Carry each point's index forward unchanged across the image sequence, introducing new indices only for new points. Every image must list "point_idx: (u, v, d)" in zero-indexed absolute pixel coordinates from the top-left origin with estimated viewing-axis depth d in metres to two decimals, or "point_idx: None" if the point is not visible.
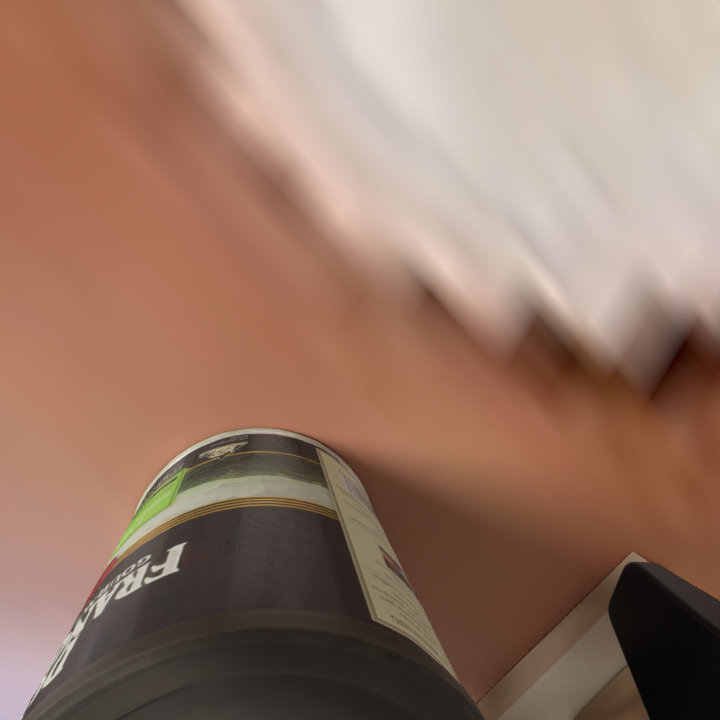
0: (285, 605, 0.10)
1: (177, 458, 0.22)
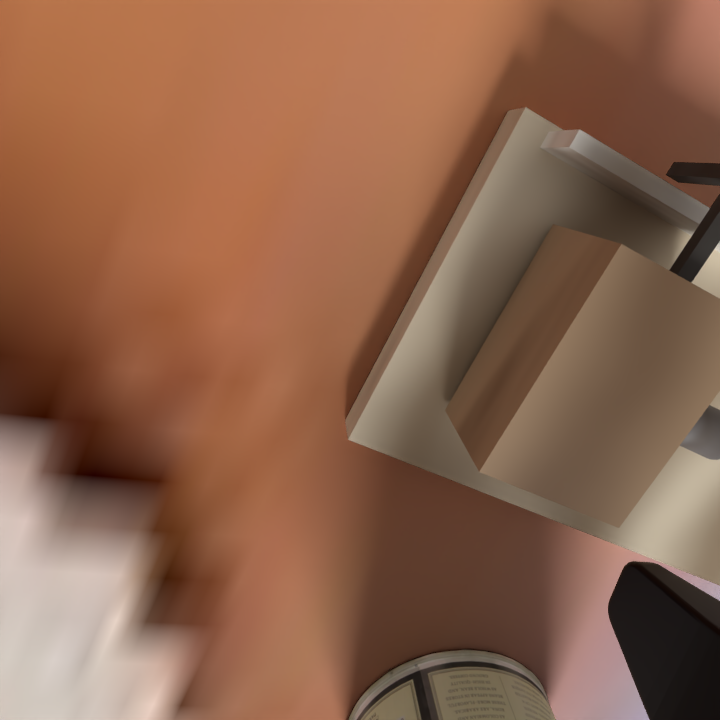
0: None
1: None
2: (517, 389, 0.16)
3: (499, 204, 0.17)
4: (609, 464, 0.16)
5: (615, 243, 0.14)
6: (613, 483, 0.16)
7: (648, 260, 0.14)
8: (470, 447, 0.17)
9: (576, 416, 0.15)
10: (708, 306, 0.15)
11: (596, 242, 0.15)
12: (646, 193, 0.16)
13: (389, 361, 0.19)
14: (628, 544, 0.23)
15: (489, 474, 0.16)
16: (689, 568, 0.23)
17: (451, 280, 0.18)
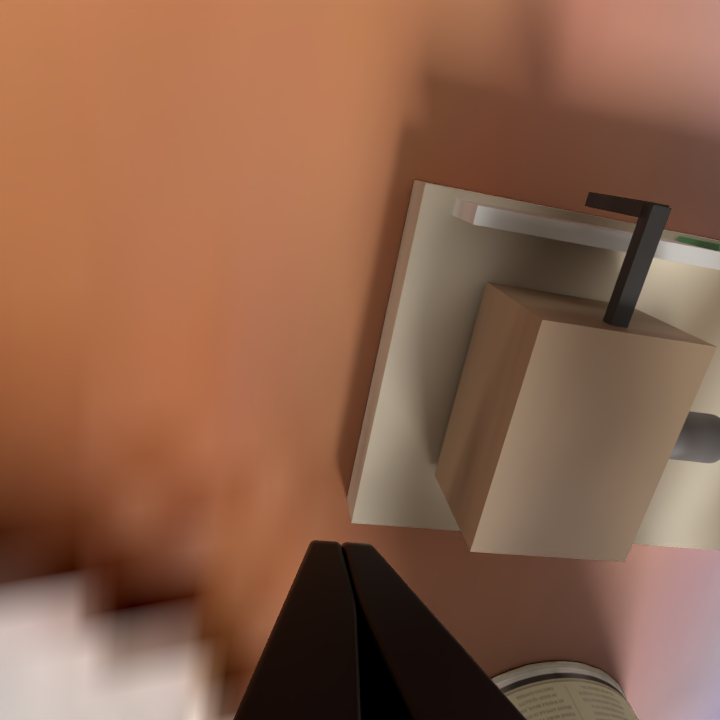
0: None
1: None
2: (486, 467, 0.16)
3: (428, 277, 0.17)
4: (596, 511, 0.16)
5: (537, 318, 0.14)
6: (605, 526, 0.16)
7: (574, 325, 0.14)
8: (459, 522, 0.17)
9: (549, 479, 0.15)
10: (649, 347, 0.14)
11: (522, 312, 0.15)
12: (564, 241, 0.16)
13: (368, 445, 0.19)
14: (655, 541, 0.23)
15: (480, 551, 0.16)
16: None
17: (404, 358, 0.18)
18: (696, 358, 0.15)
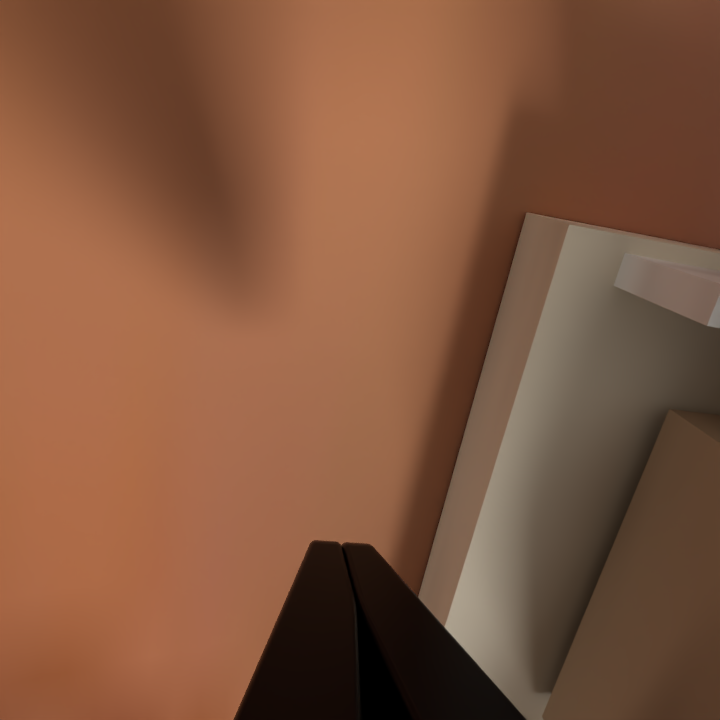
0: None
1: None
2: None
3: (558, 400, 0.09)
4: None
5: None
6: None
7: None
8: None
9: None
10: None
11: None
12: None
13: None
14: None
15: None
16: None
17: (501, 538, 0.10)
18: None
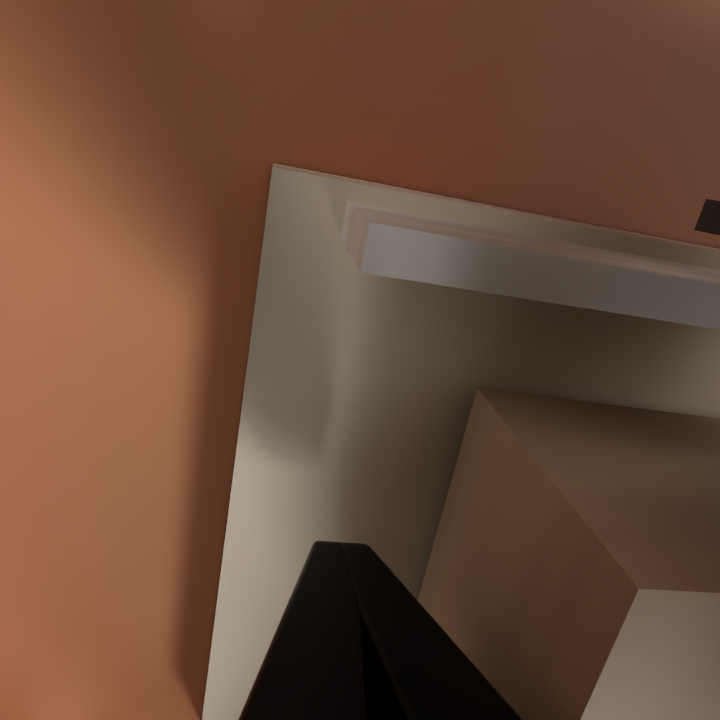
0: None
1: None
2: None
3: (298, 372, 0.08)
4: None
5: (620, 570, 0.05)
6: None
7: None
8: None
9: None
10: None
11: (569, 519, 0.06)
12: (599, 309, 0.06)
13: (207, 678, 0.10)
14: None
15: None
16: None
17: (261, 527, 0.09)
18: None
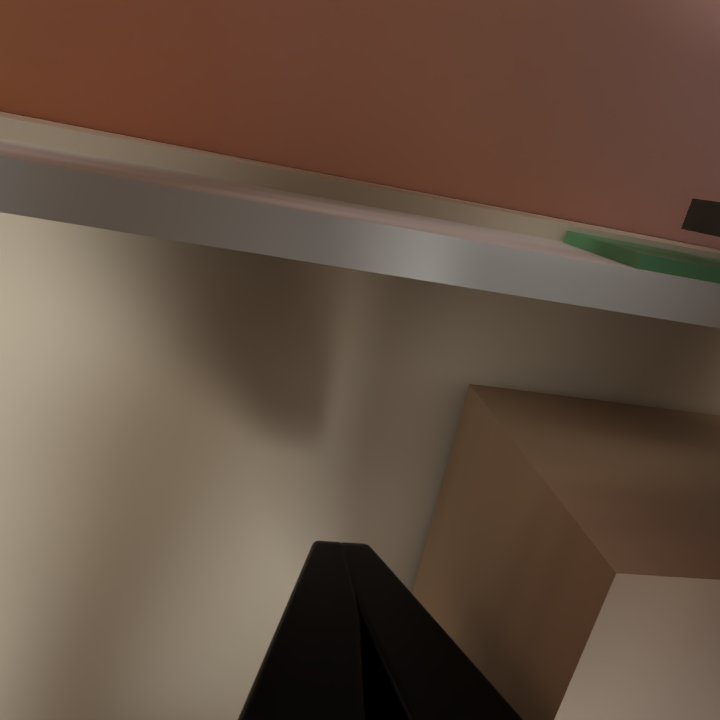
0: None
1: None
2: None
3: None
4: None
5: (599, 556, 0.05)
6: None
7: (704, 579, 0.05)
8: None
9: None
10: None
11: (553, 509, 0.06)
12: (201, 243, 0.06)
13: None
14: None
15: None
16: None
17: None
18: None
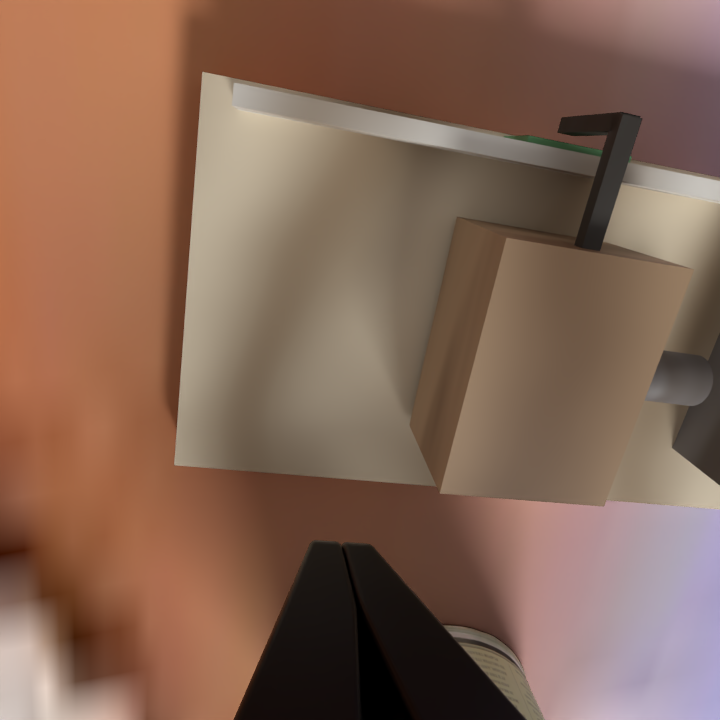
0: None
1: None
2: (454, 404, 0.15)
3: (221, 183, 0.16)
4: (572, 450, 0.15)
5: (502, 237, 0.13)
6: (582, 466, 0.16)
7: (541, 244, 0.13)
8: (430, 466, 0.16)
9: (520, 415, 0.15)
10: (622, 269, 0.14)
11: (488, 236, 0.14)
12: (344, 127, 0.14)
13: None
14: None
15: (450, 493, 0.15)
16: None
17: (206, 277, 0.17)
18: (672, 282, 0.14)
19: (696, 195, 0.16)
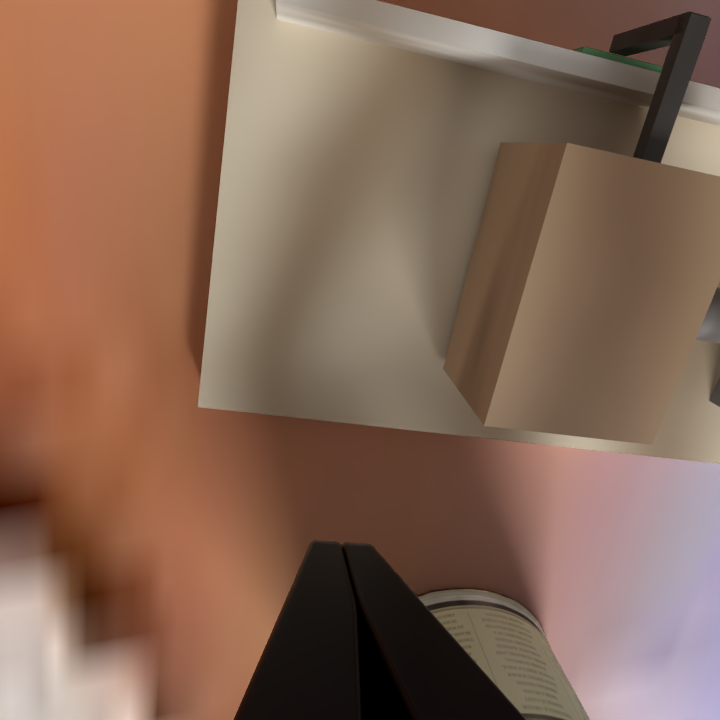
0: None
1: None
2: (501, 330, 0.14)
3: (256, 99, 0.15)
4: (623, 382, 0.15)
5: (561, 144, 0.12)
6: (632, 400, 0.15)
7: (602, 152, 0.12)
8: (471, 401, 0.16)
9: (572, 341, 0.14)
10: (684, 182, 0.13)
11: (543, 148, 0.13)
12: (393, 30, 0.13)
13: (207, 310, 0.17)
14: (555, 440, 0.20)
15: (495, 425, 0.15)
16: (635, 449, 0.21)
17: (238, 202, 0.16)
18: None
19: None
